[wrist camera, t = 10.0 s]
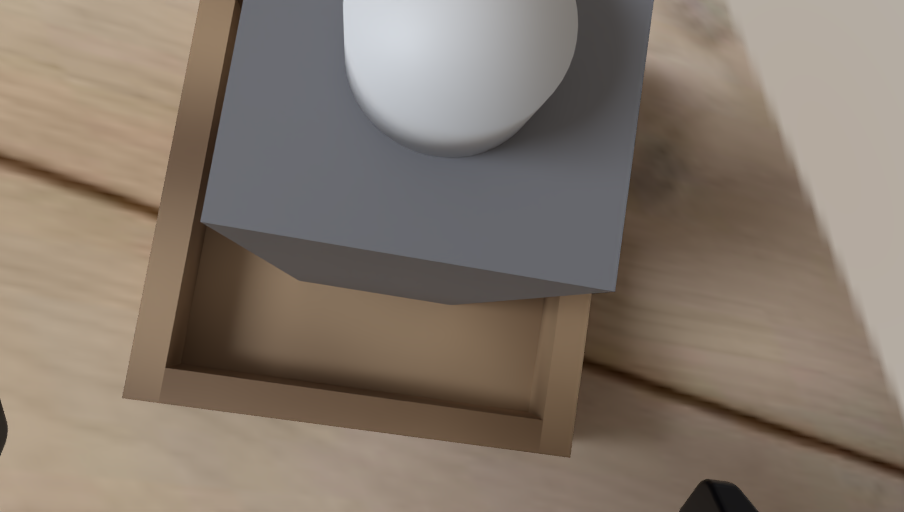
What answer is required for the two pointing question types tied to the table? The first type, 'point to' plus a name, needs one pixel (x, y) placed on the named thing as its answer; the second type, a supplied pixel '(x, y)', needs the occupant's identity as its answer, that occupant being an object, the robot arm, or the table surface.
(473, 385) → the wooden tray
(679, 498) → the table surface
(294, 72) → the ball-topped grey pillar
